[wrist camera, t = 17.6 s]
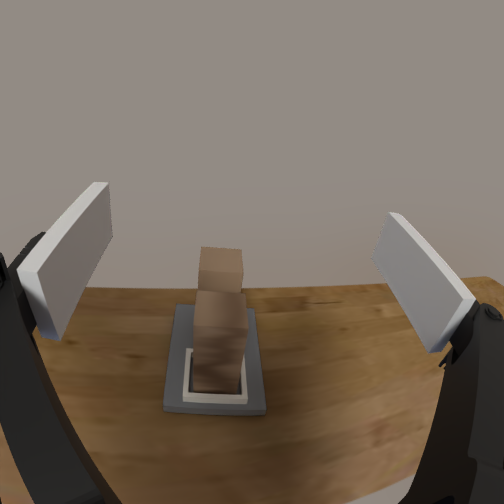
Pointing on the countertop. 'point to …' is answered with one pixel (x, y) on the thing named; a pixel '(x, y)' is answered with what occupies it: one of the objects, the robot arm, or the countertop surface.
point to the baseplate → (181, 347)
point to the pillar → (218, 341)
